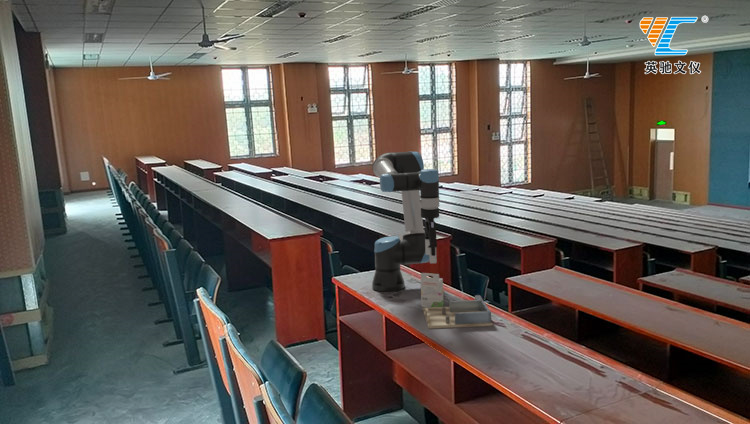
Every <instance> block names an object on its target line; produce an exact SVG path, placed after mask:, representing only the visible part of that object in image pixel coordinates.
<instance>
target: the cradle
mask: <svg viewBox="0 0 750 424" xmlns="http://www.w3.org/2000/svg"><path fill="white" fill-rule="evenodd" d="M422 311H423V316H424V318H425V320H426V325H427V328H428V329H444V328H445V329H449V328H470V327H474V328H475V327H490V326H491V327H492V326H493V321H491V322H489V323H467V324H455V313H463V312H482V311H481V310H476V311H453V312H450V311H449V306H442V307H429V308H428V307H422Z"/></svg>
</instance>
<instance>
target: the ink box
mask: <svg viewBox="0 0 750 424" xmlns="http://www.w3.org/2000/svg"><path fill="white" fill-rule="evenodd" d="M429 276H430V277H429ZM420 302H421V304H420V306H421V307H422V308H429V307H444V305H445V304H444V279H443V278H442V277H440V274H439V273H430V272H420Z"/></svg>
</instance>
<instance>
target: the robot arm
mask: <svg viewBox="0 0 750 424" xmlns="http://www.w3.org/2000/svg"><path fill="white" fill-rule="evenodd" d="M371 168H372V172H373V174H374V175H375V176H376V177H378V178H379V186H380V191H381V192H382V193H395V192H401V200H402V212H403V219H404V221H403V222H404V231H405V232H404V233H403V235H402V239H401V238H400V237H399V236H396V235H394V236H385V237H381V238H379V239H377V240H375V242H374V249H373V250H374V251H373V252H374V268H375V272H374V275H373V279H372V283H371V287H372V289H373V290H375V291H377V292H378V291H379V292H387V293H388V292H396V291H397V292H398V291H401V290H403V289H404V288H405V286H406V285H405V280H404V278H403V277H404V276H403V273H402V271H401V265H413V264H414V265H415V264H419V265H420V264H425V263H429V264H437V262H438V261H437V247H438V242H437V241H438V240H437V229H436V225H437V224H436V223H437V222H436V221H435V219H438V218H439V217H440V208H439V207H440V176H439V175H440V174H439V170H438V169H434V168H426V169H425V165H424V160H423V156H422V155H421V154H420V152H419V151H399V152H398V151H397V152H386V153H382V154H380V155H379V156H378V157H376V158H375V159H374V161H373V163H372V167H371ZM423 219H424V222H423Z"/></svg>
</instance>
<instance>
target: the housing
mask: <svg viewBox="0 0 750 424" xmlns="http://www.w3.org/2000/svg"><path fill="white" fill-rule="evenodd" d="M448 304H449V305H448V307H449V311H450V312H453V311H476V310H481V311H482V312H463V313H455V324H467V323H489V322H492V311H491V310H490V308H489V307H488V305H487V304H486V302H485V301H484V299H483V298H482V296H481V295H480V294H477V295H474V299H472V300H471V299H469V300H449V301H448Z"/></svg>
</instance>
